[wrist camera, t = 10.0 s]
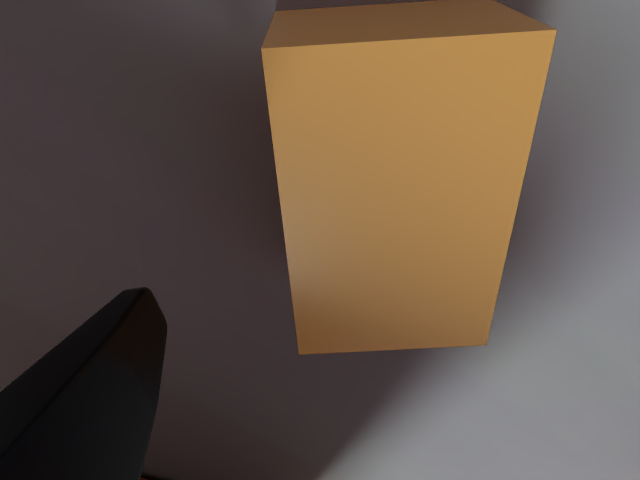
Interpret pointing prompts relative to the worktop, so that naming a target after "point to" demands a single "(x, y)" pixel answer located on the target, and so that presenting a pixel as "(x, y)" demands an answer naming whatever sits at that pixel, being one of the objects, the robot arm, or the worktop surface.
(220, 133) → the worktop surface
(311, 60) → the orange brick
